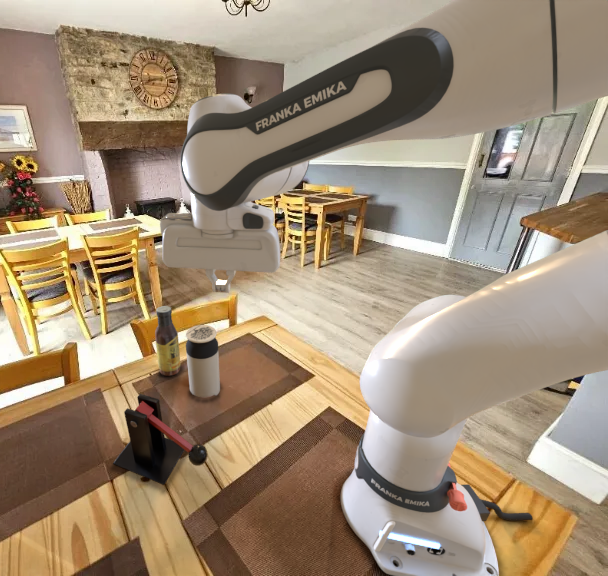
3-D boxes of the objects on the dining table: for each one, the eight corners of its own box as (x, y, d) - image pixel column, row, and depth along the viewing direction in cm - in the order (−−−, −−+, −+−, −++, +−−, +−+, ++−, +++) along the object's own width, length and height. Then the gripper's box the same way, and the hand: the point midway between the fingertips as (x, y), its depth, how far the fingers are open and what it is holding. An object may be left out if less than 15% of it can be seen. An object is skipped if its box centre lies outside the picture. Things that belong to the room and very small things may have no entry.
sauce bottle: (176, 378, 87) (169, 316, 78) (156, 375, 88) (146, 314, 80) (184, 363, 93) (178, 304, 84) (164, 361, 94) (156, 303, 85)
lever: (205, 456, 60) (213, 448, 58) (197, 473, 57) (205, 465, 55) (140, 406, 62) (145, 396, 60) (128, 419, 59) (134, 410, 57)
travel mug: (226, 389, 82) (224, 332, 75) (203, 406, 77) (199, 346, 70) (206, 375, 87) (202, 320, 80) (184, 390, 82) (177, 333, 75)
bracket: (187, 449, 66) (181, 397, 60) (164, 489, 59) (155, 433, 53) (140, 433, 70) (130, 382, 64) (114, 468, 63) (99, 414, 57)
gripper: (151, 216, 49) (160, 294, 55) (281, 219, 45) (277, 303, 51) (165, 209, 55) (173, 281, 61) (283, 210, 51) (279, 287, 57)
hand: (221, 291), depth 56 cm, fingers closed
